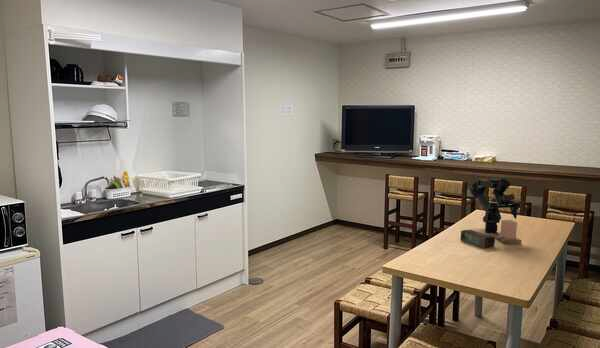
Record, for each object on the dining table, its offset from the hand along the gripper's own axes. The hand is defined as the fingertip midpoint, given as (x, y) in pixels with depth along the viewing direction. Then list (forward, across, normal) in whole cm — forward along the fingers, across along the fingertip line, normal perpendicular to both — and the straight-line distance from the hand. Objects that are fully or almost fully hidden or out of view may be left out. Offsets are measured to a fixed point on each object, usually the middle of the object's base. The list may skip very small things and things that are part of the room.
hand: (508, 218), depth 263 cm
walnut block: (+11, 0, +9) cm, 14 cm away
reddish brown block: (+9, 0, +7) cm, 11 cm away
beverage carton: (+12, -20, +8) cm, 24 cm away
